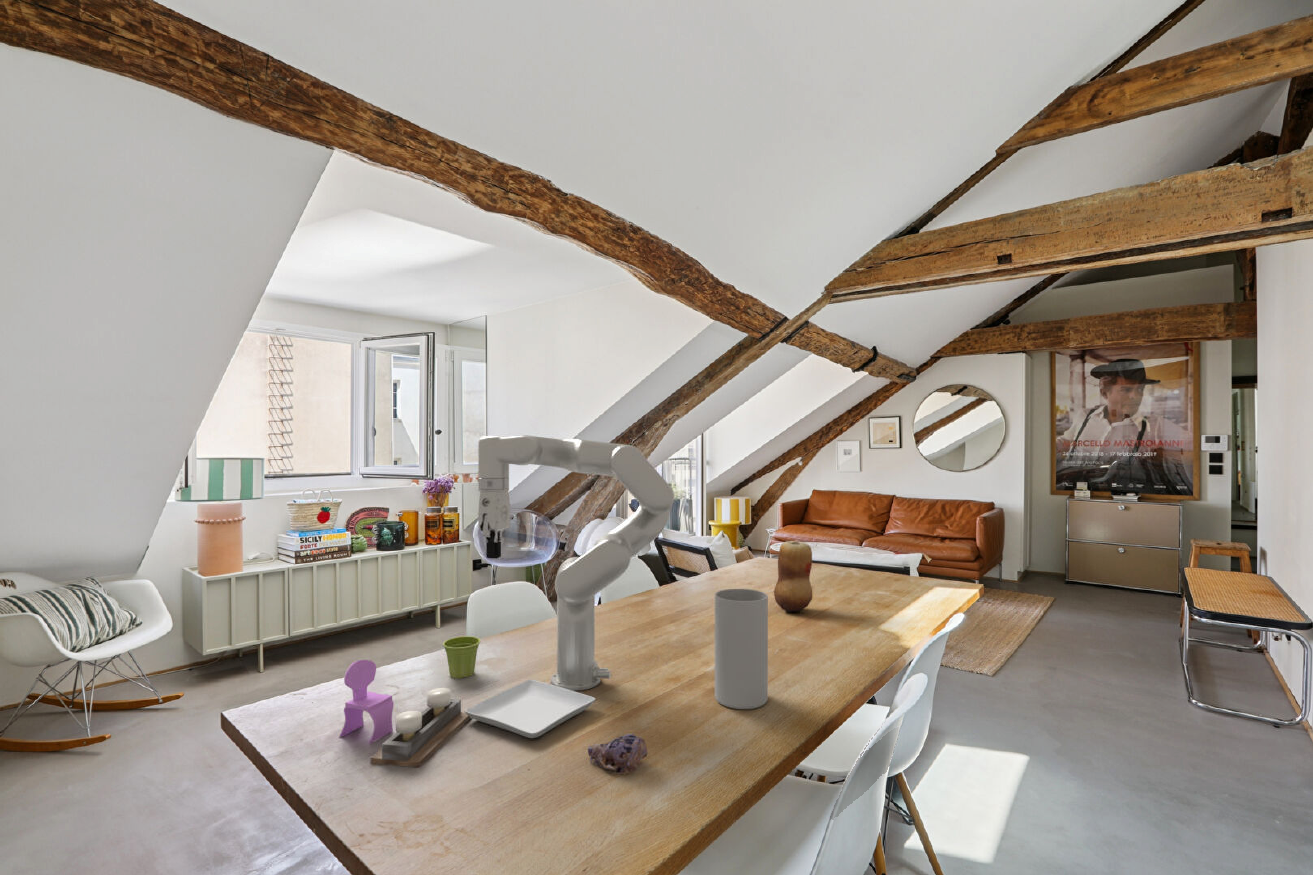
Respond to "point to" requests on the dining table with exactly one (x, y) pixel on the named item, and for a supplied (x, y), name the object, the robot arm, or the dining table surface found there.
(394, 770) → the dining table surface
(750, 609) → the cylinder vase
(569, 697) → the salad plate
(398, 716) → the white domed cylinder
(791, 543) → the butternut squash
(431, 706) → the plunger far
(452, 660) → the plant pot
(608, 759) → the grey-brown rounded lump
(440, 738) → the mount
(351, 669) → the toy chair
